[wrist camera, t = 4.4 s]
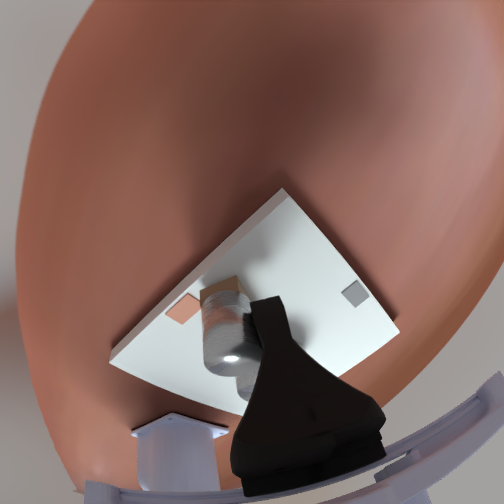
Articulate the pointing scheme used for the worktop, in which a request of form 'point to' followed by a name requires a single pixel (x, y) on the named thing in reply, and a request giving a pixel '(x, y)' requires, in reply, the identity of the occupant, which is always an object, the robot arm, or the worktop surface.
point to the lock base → (260, 287)
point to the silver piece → (230, 334)
